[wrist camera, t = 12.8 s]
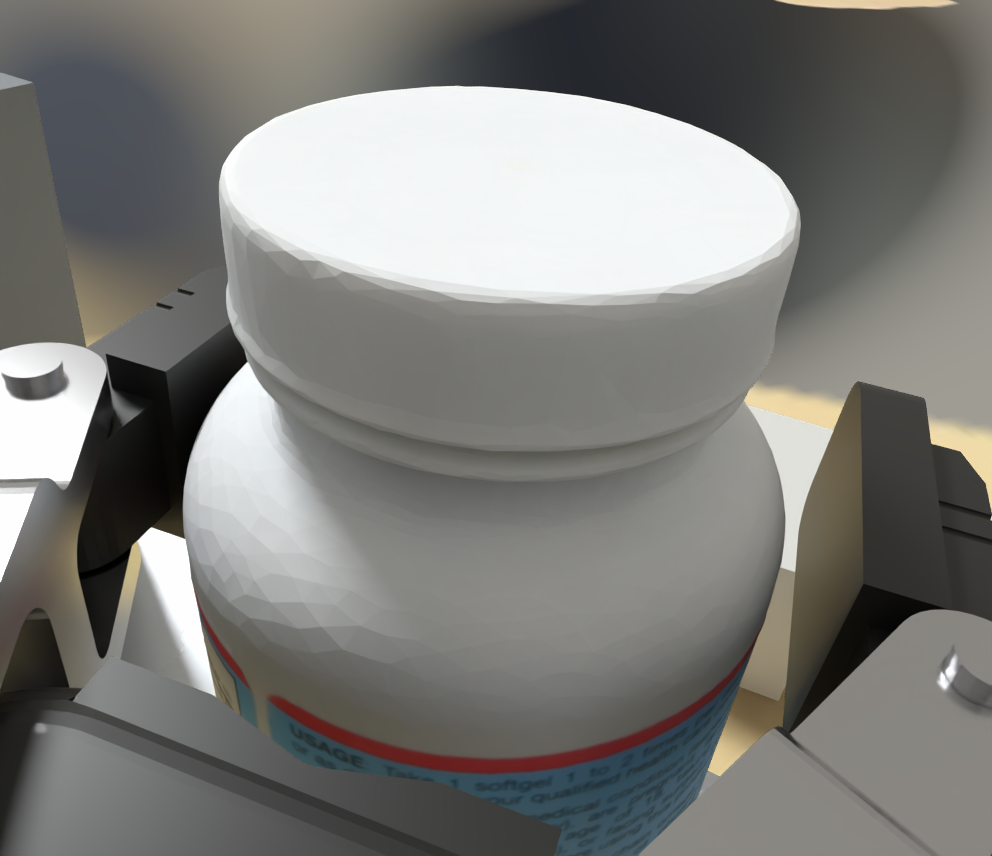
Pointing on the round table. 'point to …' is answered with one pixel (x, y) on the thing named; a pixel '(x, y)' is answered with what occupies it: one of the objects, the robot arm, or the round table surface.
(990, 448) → the round table surface
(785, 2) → the round table surface
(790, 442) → the box
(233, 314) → the pill bottle
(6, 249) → the modules
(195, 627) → the rail
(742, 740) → the round table surface
